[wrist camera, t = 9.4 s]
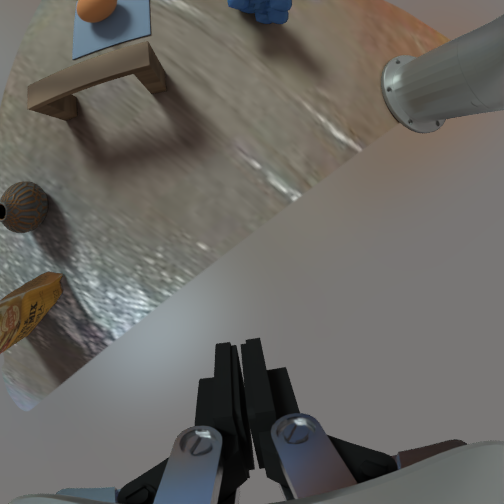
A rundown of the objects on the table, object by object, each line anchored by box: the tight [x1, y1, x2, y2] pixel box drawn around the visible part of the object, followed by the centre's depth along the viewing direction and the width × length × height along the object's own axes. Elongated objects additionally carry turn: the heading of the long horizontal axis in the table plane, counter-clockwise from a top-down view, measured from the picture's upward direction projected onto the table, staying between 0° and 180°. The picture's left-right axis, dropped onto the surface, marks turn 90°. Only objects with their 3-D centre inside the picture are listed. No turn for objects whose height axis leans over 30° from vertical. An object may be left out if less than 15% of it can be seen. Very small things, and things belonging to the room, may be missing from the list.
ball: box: [76, 0, 117, 23], centre depth 26 cm, size 6×6×6 cm
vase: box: [0, 182, 48, 233], centre depth 30 cm, size 7×7×9 cm
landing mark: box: [73, 0, 151, 60], centre depth 29 cm, size 12×12×1 cm
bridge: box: [28, 41, 167, 121], centre depth 28 cm, size 3×15×10 cm, turn 98°
